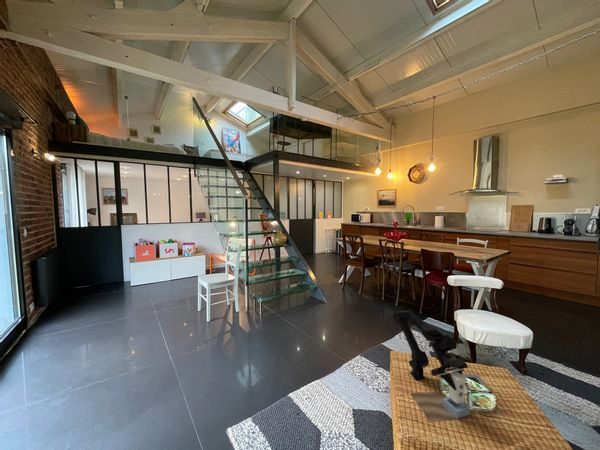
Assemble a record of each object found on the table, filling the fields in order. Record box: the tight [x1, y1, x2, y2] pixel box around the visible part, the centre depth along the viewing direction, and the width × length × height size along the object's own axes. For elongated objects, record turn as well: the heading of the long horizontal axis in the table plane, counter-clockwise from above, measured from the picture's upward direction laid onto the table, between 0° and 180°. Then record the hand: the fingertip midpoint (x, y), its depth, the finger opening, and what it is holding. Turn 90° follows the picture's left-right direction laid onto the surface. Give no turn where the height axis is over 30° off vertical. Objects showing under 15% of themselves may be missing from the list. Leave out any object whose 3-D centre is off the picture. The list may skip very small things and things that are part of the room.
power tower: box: [448, 372, 466, 404], centre depth 116 cm, size 5×4×12 cm
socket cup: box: [443, 397, 471, 419], centre depth 117 cm, size 8×8×4 cm
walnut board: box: [409, 390, 474, 423], centre depth 120 cm, size 17×22×1 cm
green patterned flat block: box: [462, 372, 490, 390], centre depth 135 cm, size 13×10×2 cm
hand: (459, 388), depth 115 cm, fingers closed on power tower, 4 cm apart
